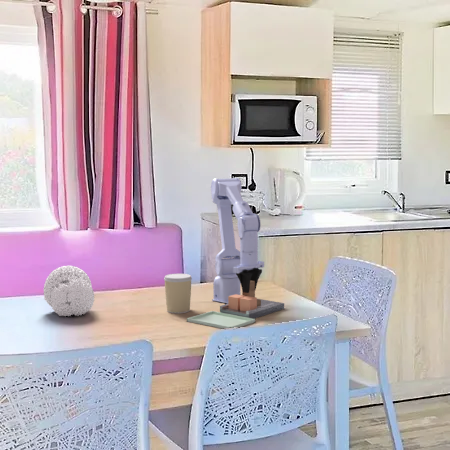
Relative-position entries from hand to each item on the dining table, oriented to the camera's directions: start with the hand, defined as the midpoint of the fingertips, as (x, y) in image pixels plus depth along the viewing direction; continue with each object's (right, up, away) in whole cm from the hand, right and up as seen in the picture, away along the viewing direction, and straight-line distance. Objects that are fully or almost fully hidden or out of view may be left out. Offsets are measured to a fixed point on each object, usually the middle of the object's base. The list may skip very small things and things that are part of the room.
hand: (249, 291), depth 250 cm
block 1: (-4, -5, 0) cm, 7 cm away
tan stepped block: (0, -5, +1) cm, 5 cm away
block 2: (0, -6, -3) cm, 7 cm away
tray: (-9, -9, -10) cm, 16 cm away
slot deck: (+1, -7, +2) cm, 8 cm away
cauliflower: (-59, -8, +3) cm, 60 cm away
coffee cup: (-24, -7, +5) cm, 25 cm away
